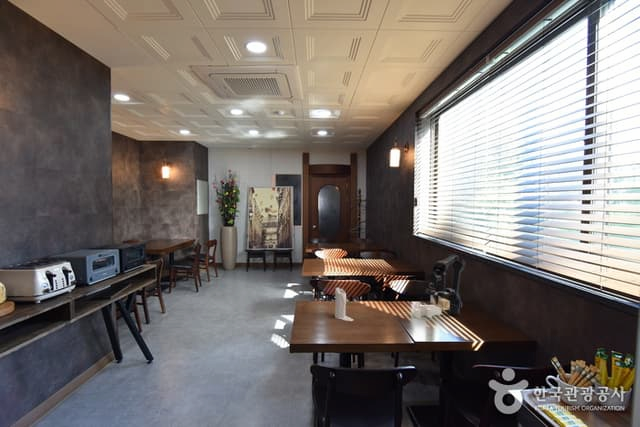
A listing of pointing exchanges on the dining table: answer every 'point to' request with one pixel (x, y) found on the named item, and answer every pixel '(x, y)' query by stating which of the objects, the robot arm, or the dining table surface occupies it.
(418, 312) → the headboard
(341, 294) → the white boot
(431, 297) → the rail
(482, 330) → the dining table surface
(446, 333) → the dining table surface
